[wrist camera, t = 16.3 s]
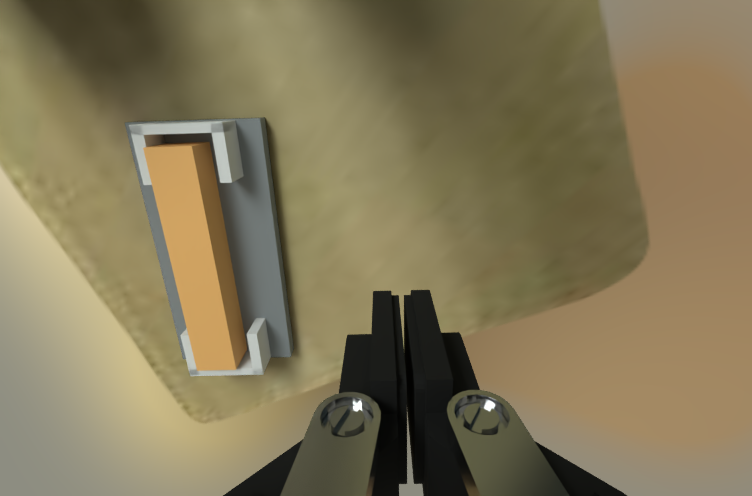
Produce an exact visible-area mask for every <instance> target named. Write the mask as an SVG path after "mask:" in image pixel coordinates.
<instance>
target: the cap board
mask: <svg viewBox="0 0 752 496" xmlns="http://www.w3.org/2000/svg"><path fill="white" fill-rule="evenodd" d="M125 126H126V130H127V134H128V138H129V142H130V146H131V150H132V154H133V158H134V162H135V166H136V170H137V174H138V178H139V182H140V187H141V191H142V195H143V199H144V203H145V207H146V211H147V215H148V219H149V223H150V227H151V231H152V235H153V239H154V243H155V247H156V251H157V255H158V259H159V263H160V267H161V271H162V275H163V279H164V283H165V287H166V291H167V295H168V299H169V303H170V307H171V311H172V315H173V319H174V323H175V328H176V332H177V336H178V340H179V344H180V348H181V352H182V356H183V359H186V360H187V364H188V368H189V373H190V376H214V375H263V374H264V372H265V369H266V367H267V365H268V362H269V360H270V358H271V357H291V355H292V352H293V350H294V347H293V339H292V331H291V323H290V315H289V307H288V299H287V291H286V283H285V275H284V267H283V259H282V251H281V243H280V235H279V227H278V219H277V211H276V203H275V195H274V187H273V179H272V171H271V163H270V155H269V147H268V140H267V132H266V124H265V118H239V119H207V120H176V121H145V122H126V123H125ZM191 142H210V147H211V152H212V158H213V163H214V169H215V174H216V180H217V185H218V191H219V196H220V202H221V207H222V213H223V218H224V224H225V229H226V235H227V240H228V246H229V251H230V257H231V262H232V268H233V273H234V279H235V284H236V289H237V295H238V300H239V306H240V311H241V317H242V322H243V328H244V333H245V339H246V344H247V351H246V353H245V354H244V356H243V358H242V360H241V362H240V364H239V366H238V367H237V369H236V370H206V371H197V368H196V364H195V360H194V356H193V352H192V348H191V344H190V340H189V335H188V331H187V327H186V323H185V319H184V315H183V311H182V307H181V302H180V298H179V294H178V290H177V286H176V282H175V278H174V274H173V269H172V265H171V261H170V257H169V253H168V249H167V245H166V241H165V237H164V232H163V228H162V224H161V220H160V216H159V212H158V208H157V204H156V199H155V195H154V191H153V187H152V183H151V179H150V175H149V171H148V166H147V162H146V158H145V154H144V150H143V148H144V147H150V146H155V145H160V144H165V143H191Z"/></svg>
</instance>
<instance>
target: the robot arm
mask: <svg viewBox="0 0 752 496" xmlns="http://www.w3.org/2000/svg"><path fill="white" fill-rule="evenodd" d="M407 411H408V422H409V434H410V445H411V456H412V468H413V479H414V484H423V494H424V496H627V495H625V494H624V493H623V492H621V491H619V490H617V489H615V488H614V487H612V486H610V485H609V484H607V483H605V482H604V481H602V480H600V479H599V478H597V477H595V476H593V475H592V474H590V473H588V472H586V471H585V470H583V469H581V468H580V467H578V466H576V465H575V464H573V463H571V462H569V461H568V460H566V459H564V458H563V457H561V456H559V455H557V454H556V453H554V452H552V451H551V450H549V449H547V448H545V447H544V446H542V445H540V444H539V443H537V442H535V441H534V440H533V438H532V436H531V435H530V433H529V432H528V430H527V429H526V427H525V426H524V424H523V423H522V421H521V419H520V418H519V416H518V415H517V413H516V412H515V410H514V409H513V408H512V406H511V405H510V404H509V403H508V402H507V401H505V400H504V399H503V398H501V397H500V396H498V395H496V394H493V393H491V392H487V391H482V390H480V389H479V386H478V383H477V380H476V378H475V374H474V371H473V369H472V366H471V363H470V360H469V357H468V354H467V352H466V348H465V346H464V343H463V340H462V337H461V335H460V333H459V332H457V333H441V331H440V327H439V324H438V320H437V316H436V312H435V308H434V305H433V301H432V297H431V293H430V290H411V295H404V347H403V337H402V326H401V316H400V305H399V295H391V291H373V311H372V334H359V335H347V339H346V346H345V353H344V360H343V367H342V374H341V382H340V389H339V394H335V395H333V396H331V397H329V398H327V399H325V400H324V401H323V402H322V403H321V404H320V405H319V406H318V407H317V409H316V411H315V412H314V415H313V417H312V419H311V422H310V425H309V427H308V429H307V432H306V434H305V437H304V439H303V440H302V441H300V442H299V443H297V444H296V445H294V446H293V447H292V448H291V449H289V450H287V451H286V452H285V453H283V454H282V455H280V456H279V457H277V458H276V459H275V460H273V461H272V462H270V463H269V464H268V465H266V466H265V467H263V468H262V469H260V470H259V471H258V472H256V473H255V474H253V475H252V476H250V477H249V478H248V479H246V480H245V481H244V482H242V483H241V484H239V485H238V486H236V487H235V488H233V489H232V490H231V491H229V492H228V493H226V494H225V495H223V496H399V484H407Z"/></svg>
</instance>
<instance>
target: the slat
mask: <svg viewBox="0 0 752 496" xmlns="http://www.w3.org/2000/svg"><path fill="white" fill-rule="evenodd" d="M143 150H144V154H145V158H146V162H147V166H148V171H149V175H150V179H151V183H152V187H153V191H154V195H155V199H156V204H157V208H158V212H159V216H160V220H161V224H162V228H163V232H164V237H165V241H166V245H167V249H168V253H169V257H170V261H171V265H172V269H173V274H174V278H175V282H176V286H177V290H178V294H179V298H180V302H181V307H182V311H183V315H184V319H185V323H186V327H187V331H188V335H189V340H190V344H191V348H192V352H193V356H194V360H195V364H196V368H197V371H206V370H236V369H237V367H238V366H239V364H240V362H241V360H242V358H243V356H244V354H245V353H246V351H247V344H246V339H245V333H244V328H243V322H242V317H241V311H240V306H239V300H238V295H237V289H236V284H235V279H234V273H233V268H232V262H231V257H230V251H229V246H228V240H227V235H226V229H225V224H224V218H223V213H222V207H221V202H220V196H219V191H218V185H217V180H216V174H215V169H214V163H213V158H212V152H211V147H210V142H191V143H165V144H160V145H155V146H150V147H144V148H143Z"/></svg>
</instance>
